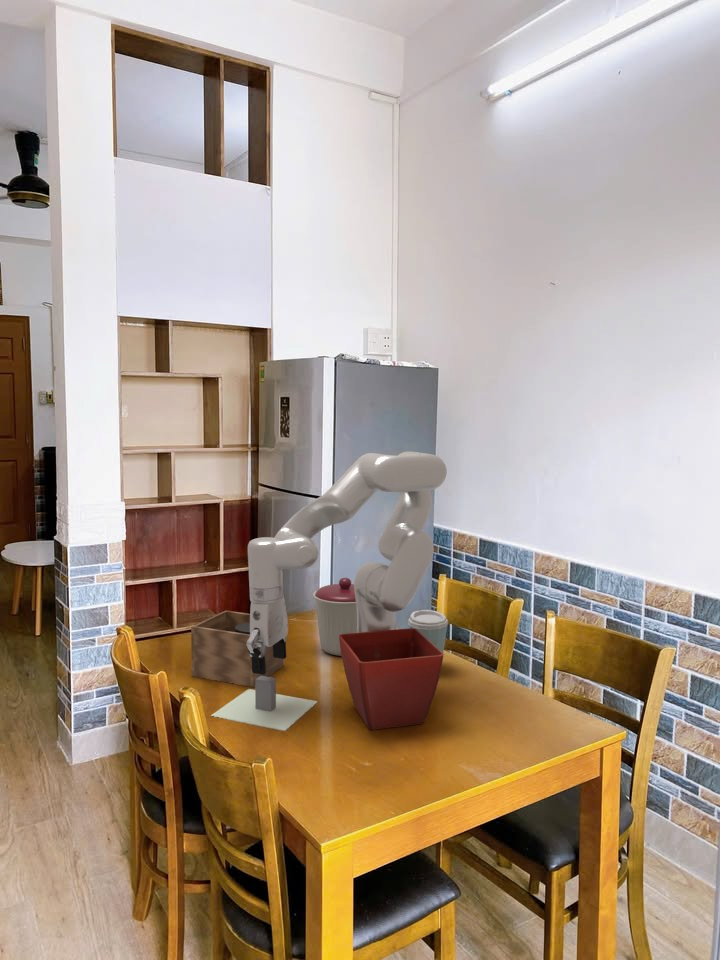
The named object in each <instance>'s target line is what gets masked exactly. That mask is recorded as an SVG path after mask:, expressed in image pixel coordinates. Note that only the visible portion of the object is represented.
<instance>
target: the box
mask: <svg viewBox="0 0 720 960" xmlns="http://www.w3.org/2000/svg"><path fill="white" fill-rule="evenodd" d="M249 622H250V613H248V612H247V613H246V612H240V611H239V612H238V611H232V610H224V611H221V612H219V613H217V614H216V615H213V616H211V617H209V618H207V619H205V620H202V621H201V622H198V623H196V624H195V625H192V626H191V627H190V630H191V631H190V633H191V635H190V636H191V637H190V638H191V641H190V642H191V644H190V645H191V646H190V647H191V648H190V649H191V677H193V676H194V678H200V679H204V678H205V679H206V680H210V681H215V680H217V682H223V683H226V682H228V683H227V684H232V683H234V684H233V685H239V686H243V687H251V688H255V679H257V678H258V677H259V676H266V677H268V676H269V677H271V675H273V674H274V673H275V672H277V671H278V670H280V669H281V668H283V667H284V660H285V659H281V658H274V657H273V645H272V646H271V647H267V646H266V648H265V652H264V655H263V656H265V664H266V673H265V674H256V673H253V672H252V658H251V656H250V653H249V652H248V647H247V645H246V643H247V641H248V639H249V637H250V634H243V633H237V632H235V627H236V626H237V625H239V624H242V623H249ZM259 643H262V642H259ZM257 649H258V650H259V651H260V649H261V647H258V646H257Z"/></svg>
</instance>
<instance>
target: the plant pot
mask: <svg viewBox="0 0 720 960" xmlns="http://www.w3.org/2000/svg"><path fill="white" fill-rule="evenodd" d="M339 642H340V649H341V655H342V656H341V660H342V664H343V669H344V674H345V678H346V681H347V686H348V690H349V693H350V696H351V699H352V702H353V705H354V708H355V709H356V711H357V713H358V714H359V716H360V717H361V719H362V721H363V722H364V724H365V725H366V727H367V728H368V729H370V730H381V729H388V728H397V727H404V726H414V725H421V724H424V723H425V720H426V718H427V716H428V713H429V710H430V708H431V707H432V706H431V705H432V703H433V700H434V698H435V694H436V691H437V687H438V683H439V681H440V676H441V672H442V666H443V660H444V655H445V654H444V652H443V653H442V652H441V651H440V650H439V649H438V648H436V647H435V646H434V645H433V644H432V643H431V642H430V641H429V640H428V639H426V638H425V637H424V636H423V635H422V634H421V633H420V632H419V631H418V630H417V629H413V628H410V627H408V628H400V629H399V628H398V629H397V628H396V629H395V630H384V631H372V632H359V633H347V634H340V635H339Z"/></svg>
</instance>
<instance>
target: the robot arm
mask: <svg viewBox="0 0 720 960" xmlns="http://www.w3.org/2000/svg"><path fill="white" fill-rule="evenodd" d="M446 478H447V466H446V464H445V462H444V460H443V459H442V458H441V457H439V456H438V455H435V454H432V453H425V452H417V451H403V452H401V453H399V454H398V455H392V454H391V455H389V454H384V453H383V454H382V453H375V452H368V453H365V454H363V455H361V456H360V457H358V458H357V460H355V462H354V463H353V464H351V466H349V468H348V469H346V471H345V472H344V473H343V474H341V476H340V477H339V478H338V479H337V481H336V482H334V483H333V485H332V486H331V487H329V489H328V490H327V491H326V492H325V493H323V494H322V495H321V496H319V497H317V498H315V499H314V500H312V501H311V502H310V503H308V504H307V505H305V506H303V507H302V508H301V509H300V510H299V511H297V512H296V513H294V515H292V516H291V517H290V518H289V520H288V521H286V523H285V524H284V525H283V526H282V527H281V528H280V529H279V530H278V531H277V533H276V534H275V536H274V537H271V536H269V537H268V536H266V537H265V536H264V537H257V538H254V539H251V540H249V542H248V544H247V560H248V561H247V564H248V582H249V588H248V589H249V600H250V608H249V609H250V610H249V612H250V613H249V614H250V637H249V639H248V641H247V643H246V645H247V647H248V652H249V653H250V656H251V658H252V672H253V673H256V674H265V673H266V664H265V656H263V655H264V652H265V648H266V646H267V647H271V646H272V645H273V657H274V658H281V659H284V660H285V659H286V658H287V643H286V642H287V640H288V639H287V638H288V637H287V635H288V633H289V618H288V612H287V606H286V599H285V597H284V582H283V579H284V578H283V577H284V576H283V570H306V569H308V568H310V567H312V566H313V565H314V564H315V563H316V562H317V560H318V558H319V548H318V545H317V544H316V542H314V540H312V538H313V537H315V536H316V535H317V534H318V533H320V532H321V531H322V530H324V529H326V528H328V527H330V526H334V525H337V524H340V523H341V524H342V523H344V522H346V521H349V520H351V519H352V518H353V517H354V516H355V515H356V514H357V513H358V512H359V511H360V510H361V508H362V507H364V506H365V504H366V503H367V502H368V501H369V500H370V499H371V498H372V497H373V495H374V494H376V493H377V492H378V491H379V492H384V493H398V498H397V502H396V503H395V504H396V505H395V507H394V509H393V511H392V513H391V515H390V517H389V519H388V521H387V523H386V524H385V527H384V528H383V531H382V533H381V535H380V537H379V538H378V539H379V540H378V546H377V547H378V551H379V553H380V555H381V556H382V557H383V558H385V559H386V560H388V561H390V563H389V565H387V564H385V563H382V562H378V561H369V562H366V563H364V564H363V565H361V566H360V567H359V568H358V570H357V571H356V574H355V575H354V581H353V584H354V591H355V598H356V606H357V633H359V632H372V631H384V630H396V629H397V628H396V627H397V622H396V621H397V620H396V613H397V612H400V611H402V610H404V609H405V608H406V607H407V606H409V605H410V603H411V602H412V601H413V599H414V597H415V596H416V593H417V591H418V590H419V587H420V586H421V584H422V582H423V579H424V578H425V576H426V573H427V571H428V570H429V567H430V565H431V564H432V561H433V557H434V553H435V552H434V550H435V549H434V541H433V540H432V538H431V536H430V535H429V534H428V532H425V530H424V529H425V526H426V523H427V522H428V519H429V518H430V517H429V516H430V515H431V512H432V504H433V502H432V499H433V498H432V493H431V491H433V490H435V489H437V488H439V487H440V486H441V485H442V484H443V483H444V481H445V480H446ZM259 642H262V643H259ZM257 646H258V647H261V649H260V651H259V650H258V649H257Z"/></svg>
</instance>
